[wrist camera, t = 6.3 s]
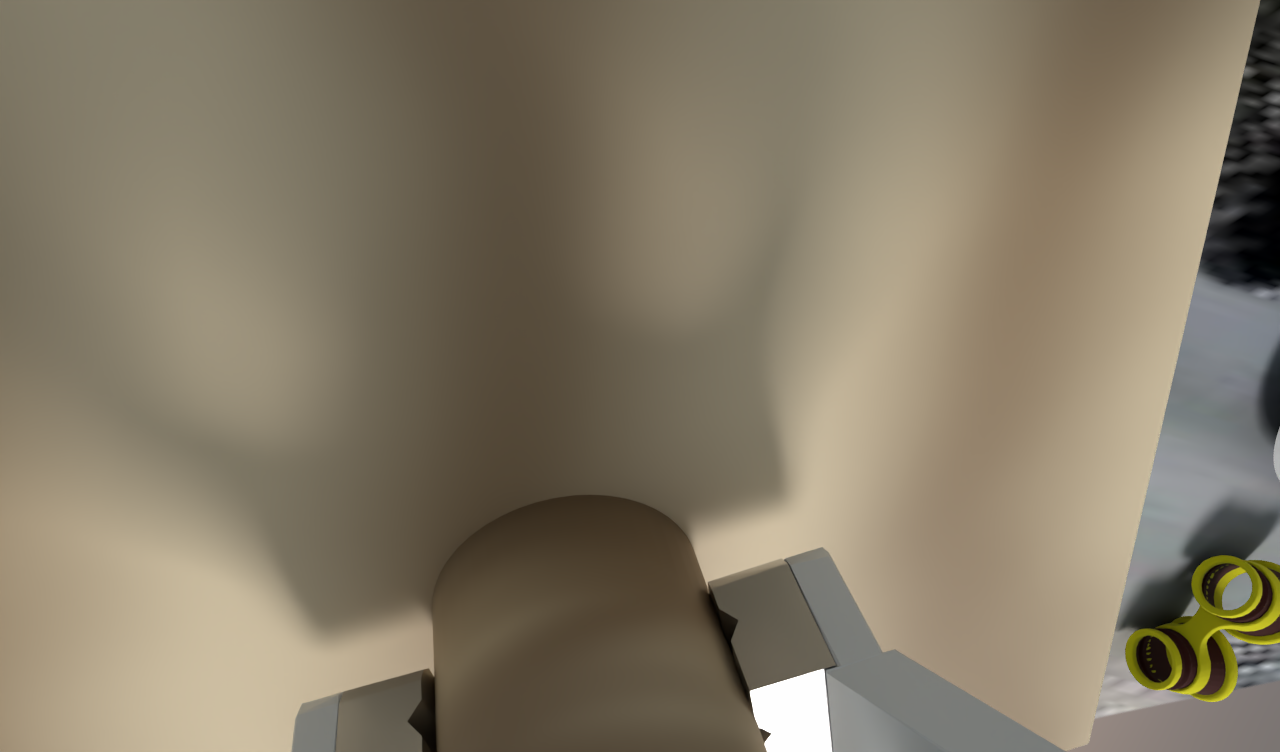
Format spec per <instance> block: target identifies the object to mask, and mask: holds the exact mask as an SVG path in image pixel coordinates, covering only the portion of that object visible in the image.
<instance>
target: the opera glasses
mask: <svg viewBox="0 0 1280 752" xmlns="http://www.w3.org/2000/svg"><path fill="white" fill-rule="evenodd" d="M1246 572H1247V573H1248V575H1249V576H1250V578H1251V581H1252V593H1251V596H1250V598H1249V600H1248V601H1247V602H1246V603H1245V604H1244V605H1243V606H1241V607H1239V608H1238V609H1234V610H1223V607H1222V594H1223V592H1224V589H1225V587H1226V586H1227V584H1228V583H1229V582H1230V581H1231V580H1232V579H1233V578H1235V577H1236V576H1238V575H1240V574H1242V573H1246ZM1191 585H1192V591H1193V594H1194V596H1195V599H1196V600H1197V602H1198V603H1199V604H1200V607H1199V609H1198V611H1197V613H1196V614H1195V615H1194V616H1183V617H1180V618H1177V619H1175V620H1174V621H1172V622H1171V623H1168V624H1164V625H1161V626H1158V627H1156V628H1154V629H1150V628H1146V629H1140V630H1137V631H1135V632H1134V633H1133V634H1132V635H1131V636H1130V637H1129V639H1128V641H1127V644H1126V649H1125V655H1126V661H1127V665H1128V668H1129V670H1130V672H1131V673H1132V675H1133V676H1134V678H1135V679H1136V680H1137V681H1138V682H1139V683H1140V684H1142V685H1143V686H1145V687H1147V688H1149V689H1153V690H1165V689H1167V690H1170V691H1173V692H1177V693H1181V694H1190V695H1192V696H1193V697H1195V698H1197V699H1200V700H1203V701H1207V702H1217V701H1220V700H1223V699H1225V698H1226V697H1228V696H1229V695H1230V694H1231V693H1232V691H1233V690H1234V687H1235V685H1236V682H1237V676H1238V666H1237V661H1236V657H1235V654H1234V651H1233V649H1232V647H1231V645H1230V643H1229V642H1228V640H1227V639H1226V637H1225V636H1224V635H1223V634H1222V633H1221V632H1220V631H1219V630H1221V629H1224V630H1225V631H1227V632H1228V633H1229V634H1231V635H1232V636H1234V637H1236V638H1238V639H1240V640H1243V641H1246V642H1248V643H1254V644H1274V643H1279V642H1280V565H1277V564H1275V563H1272V562H1267V561H1262V560H1248V561H1247V560H1242V559H1240V558H1237V557H1234V556H1227V555H1220V556H1214V557H1211V558H1209V559H1207V560H1205V561H1203V562H1202V563H1201V564H1200V565H1199V566H1198V567H1197V568H1196V570H1195V572H1194V574H1193V577H1192V582H1191ZM1225 667H1226V668H1225ZM1225 673H1226V674H1225Z"/></svg>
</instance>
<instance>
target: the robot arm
mask: <svg viewBox="0 0 1280 752" xmlns="http://www.w3.org/2000/svg"><path fill="white" fill-rule="evenodd" d="M1274 467H1275V471H1276V474H1277V477H1278V479H1279V480H1280V428H1279V431H1278V434H1277V437H1276V441H1275V447H1274ZM708 590H709V595H710V598H711V600H712V603H713V606H714V609H715V612H716V614H717V617H718V620H719V623H720V625H721V628H722V631H723V634H724V636H725V638H726V640H727V642H728V645H729V647H730V650H731V653H732V656H733V658H734V661H735V665H736V669H737V672H738V675H739V678H740V680H741V683H742V686H743V688H744V691H745V694H746V696H747V699H748V702H749V705H750V707H751V710H752V713H753V715H754V718H755V720H756V722H757V724H758V727H759V729H760V732H761V735H762V738H763V740H764V743H765V746H766V749H767V751H768V752H1066V751H1064V750H1062V749H1061V748H1059V747H1057V746H1056V745H1054V744H1052V743H1051V742H1049V741H1047V740H1046V739H1044V738H1042V737H1041V736H1039V735H1037V734H1036V733H1034V732H1032V731H1031V730H1029V729H1027V728H1026V727H1024V726H1022V725H1021V724H1019V723H1017V722H1016V721H1014V720H1012V719H1011V718H1009V717H1007V716H1006V715H1004V714H1002V713H1000V712H999V711H997V710H995V709H994V708H992V707H990V706H989V705H987V704H985V703H984V702H982V701H980V700H979V699H977V698H975V697H974V696H972V695H970V694H969V693H967V692H965V691H964V690H962V689H960V688H959V687H957V686H955V685H954V684H952V683H950V682H949V681H947V680H945V679H944V678H942V677H940V676H939V675H937V674H935V673H934V672H932V671H930V670H929V669H927V668H925V667H924V666H922V665H920V664H919V663H917V662H915V661H914V660H912V659H910V658H909V657H907V656H905V655H904V654H902V653H900V652H899V651H897V650H895V649H894V650H890V651H886V652H882V650H881V648H880V646H879V644H878V642H877V640H876V639H875V637H874V635H873V633H872V631H871V629H870V627H869V626H868V624H867V622H866V620H865V618H864V616H863V615H862V613H861V611H860V609H859V607H858V605H857V603H856V602H855V600H854V598H853V596H852V594H851V592H850V591H849V589H848V587H847V585H846V583H845V581H844V579H843V578H842V576H841V574H840V572H839V570H838V568H837V567H836V565H835V563H834V561H833V559H832V557H831V555H830V554H829V552H828V551H826V550H825V549H824V548H823V547H820V548H817V549H814V550H810V551H807V552H804V553H801V554H797V555H794V556H791V557H788V558H785V559H784V560H783V559H782V558H781V559H778V560H775V561H772V562H769V563H765V564H762V565H759V566H756V567H753V568H750V569H747V570H743V571H740V572H737V573H734V574H731V575H728V576H725V577H721V578H718V579H715V580H712V581H709V582H708ZM291 752H437V746H436V714H435V682H434V676H433V674H432V673H431V671H430V669H429V668H428V669H424V670H420V671H416V672H413V673H409V674H405V675H402V676H398V677H395V678H391V679H387V680H384V681H380V682H376V683H373V684H369V685H365V686H362V687H358V688H354V689H351V690H347V691H344V692H340V693H337V694H333V695H330V696H327V697H323V698H320V699H316V700H313V701H309V702H306V703H303V704H302V705H301V707H300V709H299V711H298V714H297V716H296V718H295V724H294V733H293V741H292V749H291Z"/></svg>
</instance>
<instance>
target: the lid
mask: <svg viewBox="0 0 1280 752" xmlns="http://www.w3.org/2000/svg"><path fill="white" fill-rule="evenodd" d="M1259 3H1260V0H0V752H291V749H292V741H293V733H294V724H295V718H296V716H297V714H298V711H299V709H300V707H301V705H302V704H303V703H306V702H309V701H313V700H316V699H320V698H323V697H327V696H330V695H333V694H337V693H340V692H344V691H347V690H351V689H354V688H358V687H362V686H365V685H369V684H373V683H376V682H380V681H384V680H387V679H391V678H395V677H398V676H402V675H405V674H409V673H413V672H416V671H420V670H424V669H428V668H429V669H430V671H431V673H432V674H433V676H434V682H435V714H436V746H437V752H768V751H767V749H766V746H765V743H764V740H763V738H762V735H761V732H760V729H759V727H758V724H757V722H756V720H755V718H754V715H753V713H752V710H751V707H750V705H749V702H748V699H747V696H746V694H745V691H744V688H743V686H742V683H741V680H740V678H739V675H738V672H737V669H736V665H735V661H734V658H733V656H732V653H731V650H730V647H729V645H728V642H727V640H726V638H725V636H724V634H723V631H722V628H721V625H720V623H719V620H718V617H717V614H716V612H715V609H714V606H713V603H712V600H711V598H710V595H709V590H708V582H709V581H712V580H715V579H718V578H721V577H725V576H728V575H731V574H734V573H737V572H740V571H743V570H747V569H750V568H753V567H756V566H759V565H762V564H765V563H769V562H772V561H775V560H778V559H781V558H782V559H783V560H784V559H785V558H788V557H791V556H794V555H797V554H801V553H804V552H807V551H810V550H814V549H817V548H820V547H823V548H824V549H825V550H826V551H828V552H829V554H830V555H831V557H832V559H833V561H834V563H835V565H836V567H837V568H838V570H839V572H840V574H841V576H842V578H843V579H844V581H845V583H846V585H847V587H848V589H849V591H850V592H851V594H852V596H853V598H854V600H855V602H856V603H857V605H858V607H859V609H860V611H861V613H862V615H863V616H864V618H865V620H866V622H867V624H868V626H869V627H870V629H871V631H872V633H873V635H874V637H875V639H876V640H877V642H878V644H879V646H880V648H881V650H882V652H886V651H890V650H894V649H895V650H897V651H899V652H900V653H902V654H904V655H905V656H907V657H909V658H910V659H912V660H914V661H915V662H917V663H919V664H920V665H922V666H924V667H925V668H927V669H929V670H930V671H932V672H934V673H935V674H937V675H939V676H940V677H942V678H944V679H945V680H947V681H949V682H950V683H952V684H954V685H955V686H957V687H959V688H960V689H962V690H964V691H965V692H967V693H969V694H970V695H972V696H974V697H975V698H977V699H979V700H980V701H982V702H984V703H985V704H987V705H989V706H990V707H992V708H994V709H995V710H997V711H999V712H1000V713H1002V714H1004V715H1006V716H1007V717H1009V718H1011V719H1012V720H1014V721H1016V722H1017V723H1019V724H1021V725H1022V726H1024V727H1026V728H1027V729H1029V730H1031V731H1032V732H1034V733H1036V734H1037V735H1039V736H1041V737H1042V738H1044V739H1046V740H1047V741H1049V742H1051V743H1052V744H1054V745H1056V746H1057V747H1059V748H1061V749H1062V750H1064V751H1068V750H1071V749H1074V748H1077V747H1080V746H1083V745H1086V744H1088V743H1089V739H1090V734H1091V731H1092V726H1093V722H1094V718H1095V713H1096V709H1097V705H1098V700H1099V696H1100V692H1101V687H1102V683H1103V679H1104V674H1105V670H1106V666H1107V661H1108V657H1109V653H1110V648H1111V644H1112V640H1113V635H1114V631H1115V627H1116V622H1117V618H1118V614H1119V609H1120V605H1121V601H1122V596H1123V592H1124V588H1125V583H1126V579H1127V575H1128V570H1129V566H1130V562H1131V557H1132V553H1133V549H1134V544H1135V540H1136V536H1137V531H1138V527H1139V523H1140V518H1141V514H1142V510H1143V505H1144V501H1145V497H1146V492H1147V488H1148V484H1149V479H1150V475H1151V471H1152V466H1153V462H1154V458H1155V453H1156V449H1157V445H1158V440H1159V436H1160V432H1161V427H1162V423H1163V419H1164V414H1165V410H1166V406H1167V401H1168V397H1169V393H1170V388H1171V384H1172V380H1173V375H1174V371H1175V367H1176V362H1177V358H1178V354H1179V349H1180V345H1181V341H1182V336H1183V332H1184V328H1185V323H1186V319H1187V315H1188V310H1189V306H1190V302H1191V297H1192V293H1193V289H1194V284H1195V280H1196V276H1197V271H1198V267H1199V263H1200V258H1201V254H1202V250H1203V245H1204V241H1205V237H1206V232H1207V228H1208V224H1209V219H1210V215H1211V211H1212V206H1213V202H1214V198H1215V193H1216V189H1217V185H1218V180H1219V176H1220V172H1221V167H1222V163H1223V159H1224V154H1225V150H1226V146H1227V141H1228V137H1229V133H1230V128H1231V124H1232V120H1233V115H1234V111H1235V107H1236V102H1237V98H1238V94H1239V89H1240V85H1241V81H1242V76H1243V72H1244V68H1245V63H1246V59H1247V55H1248V50H1249V46H1250V42H1251V37H1252V33H1253V29H1254V24H1255V20H1256V16H1257V11H1258V7H1259Z"/></svg>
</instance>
